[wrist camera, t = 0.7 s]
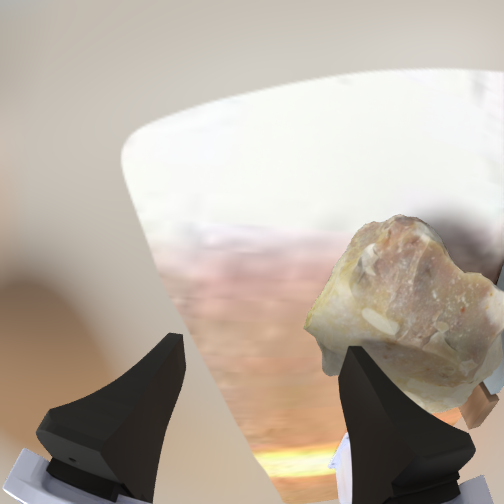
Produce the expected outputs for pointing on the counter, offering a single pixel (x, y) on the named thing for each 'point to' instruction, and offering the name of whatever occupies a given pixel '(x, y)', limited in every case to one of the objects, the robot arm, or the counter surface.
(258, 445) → the counter surface
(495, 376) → the door
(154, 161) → the counter surface
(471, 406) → the door frame
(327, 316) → the stone
